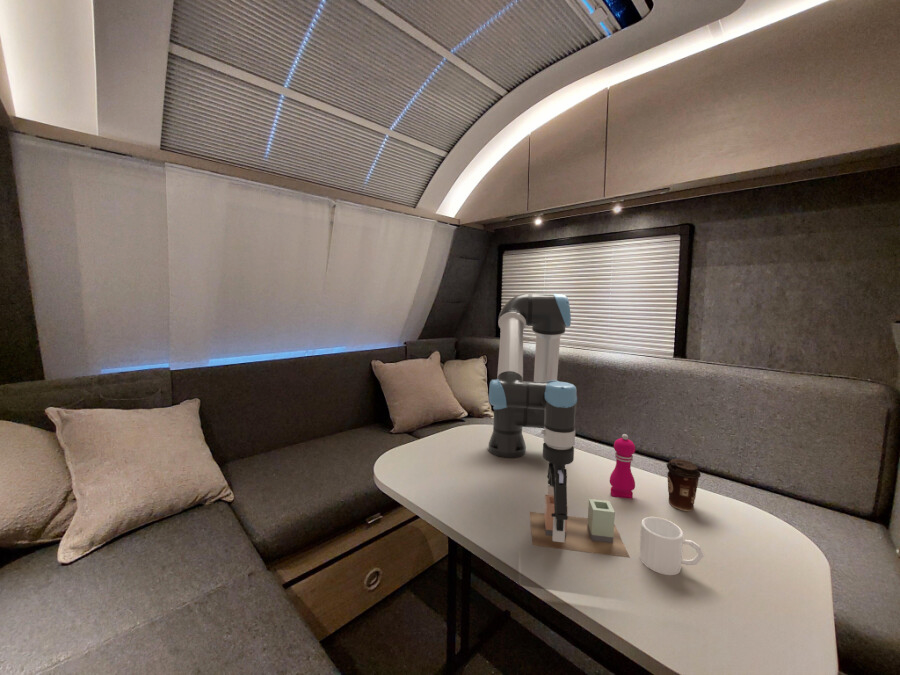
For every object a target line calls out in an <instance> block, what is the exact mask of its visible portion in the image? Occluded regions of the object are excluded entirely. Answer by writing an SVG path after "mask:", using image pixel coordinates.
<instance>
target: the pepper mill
mask: <svg viewBox="0 0 900 675" xmlns="http://www.w3.org/2000/svg"><path fill="white" fill-rule="evenodd" d="M613 449H614V451H615V452H614V458H615V459H616V460H615V467H614V469H613V470H612V472H611V474H610V476H609V484H610V486H611V487H610V496H612V497H613V498H621V499H629V500H633V497H634V492H633V491H634V490H635V487H636V481H635V477H634V475H633V473H632V469H631V464H632V461H633V460H634V458H633V457H634V456H633V455H634V454H635V452H636V445H635V443H634V442H633V441H632V440H631V439H629V436H628V434H626V433H623V434H622V435H621V437H620V438H618V439H616V440H615V441H614V444H613Z"/></svg>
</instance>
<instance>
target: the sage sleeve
mask: <svg viewBox="0 0 900 675" xmlns="http://www.w3.org/2000/svg"><path fill="white" fill-rule="evenodd" d="M587 506H588V507H587V508H588V510H587V518H588V525H587V529H588V532H589V535H590V538H591V541H599V542H608V543H613V535H614V524H615V516H616V515H615V513H616V512H615V509H614V507H613V506H612V504H611V502H610V500H603V499H602V500H601V499H592V498H588V505H587Z"/></svg>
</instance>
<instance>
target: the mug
mask: <svg viewBox="0 0 900 675" xmlns="http://www.w3.org/2000/svg"><path fill="white" fill-rule="evenodd" d="M640 525H641V526H640V535H639V536H640V537H639V538H640V539H639V552H638V555H639V559H640V561H641V562H642V563H643V565H645V566H646V567H647V569H651V571H654V572H656V573H658V574H661V575H665V576H674V575H675V576H676V575H678V574H679V573H681V568H682V565H685V566H696V565H698V564H699V563H700V562H701V560H702V559H703V558H704V557H705V554H704V552H703V549H702V548H701V546H700V544H698V543H696V542H694V541H693V540H691V539H690V540H689V539H684V531H683V530H682V529H681V528H680V527H679V525H677V524H675V523H674V522H672V521H670V520H669V519H666V518H663V517H658V516H649V517H648V516H647V517H644V518H642V520H641V524H640ZM683 545H688V546H690V547H691V548H693V549H694V550H695V551H696V553H697V554H696V555H695V556H694V557H693V558H691V559H684V558H682V556H683Z"/></svg>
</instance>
